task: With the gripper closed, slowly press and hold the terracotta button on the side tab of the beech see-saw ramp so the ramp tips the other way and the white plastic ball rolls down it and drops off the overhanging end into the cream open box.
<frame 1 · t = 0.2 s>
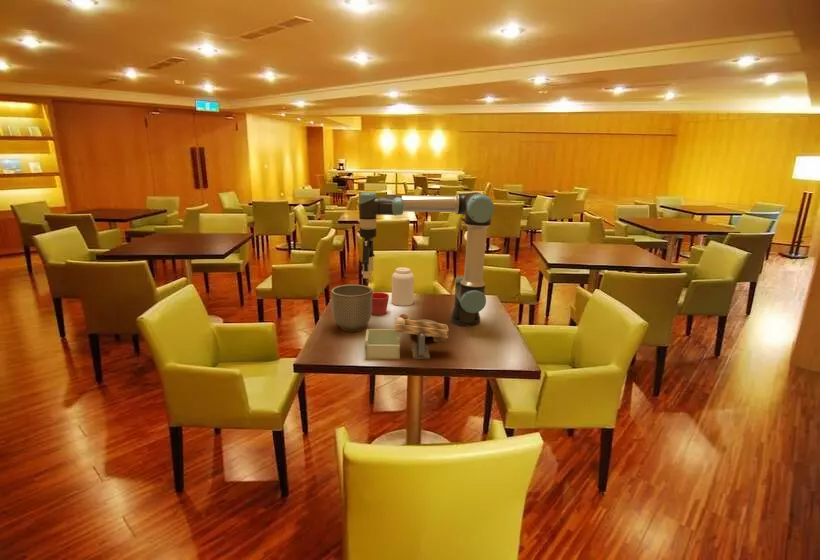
hand: (368, 274, 206), 28 cm above the table, fingers open, 13 cm apart
lever: (420, 325, 194), point 10 cm above the table, hinge at -7.1°, touching ball
white bottle: (402, 303, 255), on the table
planter: (352, 328, 217), on the table
stand: (420, 352, 191), on the table
ball: (400, 322, 187), point 14 cm above the table, tilted 110°, touching lever
flower pot: (378, 313, 238), on the table
dish: (424, 336, 209), on the table
cream open box: (382, 352, 190), on the table
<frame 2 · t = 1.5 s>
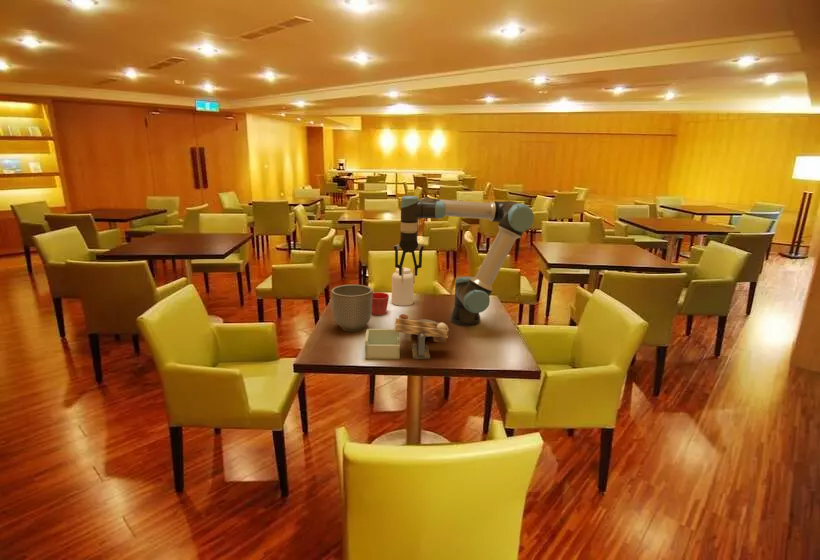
hand: (408, 282, 205), 25 cm above the table, fingers open, 4 cm apart
ball: (441, 327, 188), point 11 cm above the table, tilted 80°, touching lever
everything else where it was.
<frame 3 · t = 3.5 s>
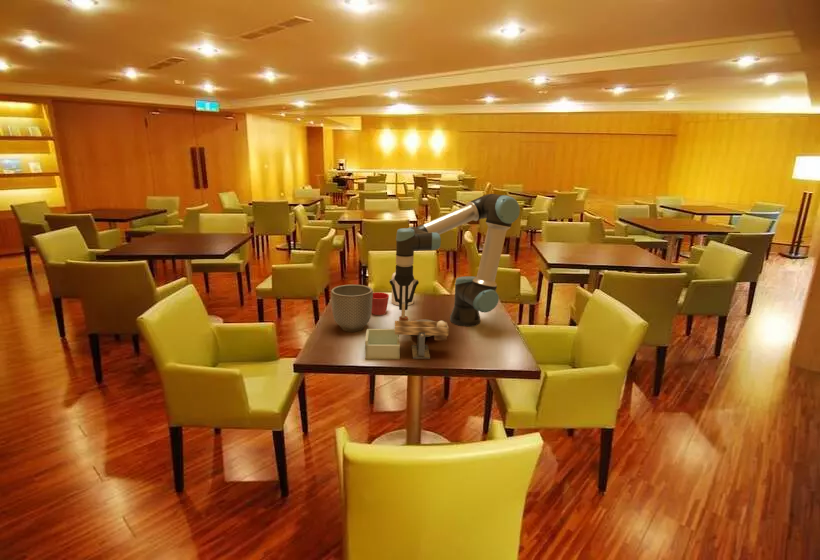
hand: (403, 316, 199), 12 cm above the table, fingers closed
lever: (420, 325, 194), point 10 cm above the table, hinge at -1.1°, touching ball, gripper
ball: (441, 325, 188), point 12 cm above the table, tilted 74°, touching lever
everything else where it was.
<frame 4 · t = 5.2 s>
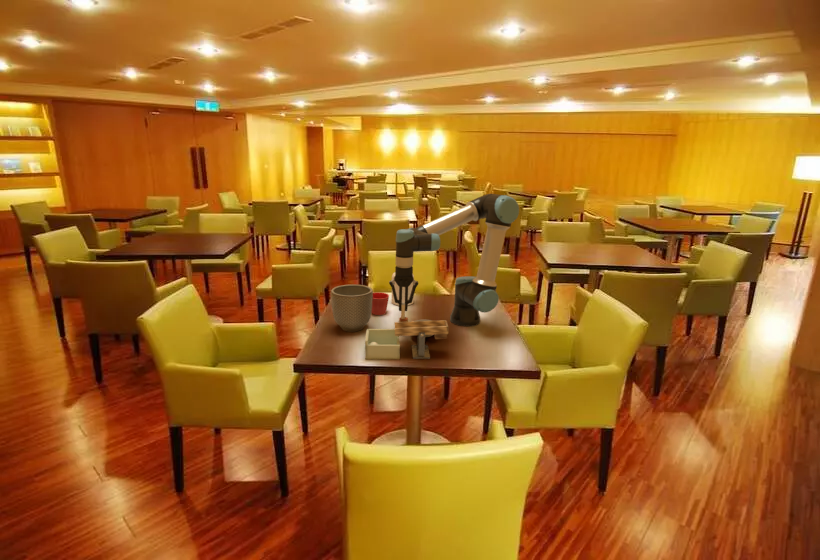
hand: (402, 317, 199), 11 cm above the table, fingers closed
lever: (420, 325, 194), point 10 cm above the table, hinge at 2.8°, touching gripper
ball: (373, 346, 189), point 3 cm above the table, tilted 36°, touching cream open box
everything else where it was.
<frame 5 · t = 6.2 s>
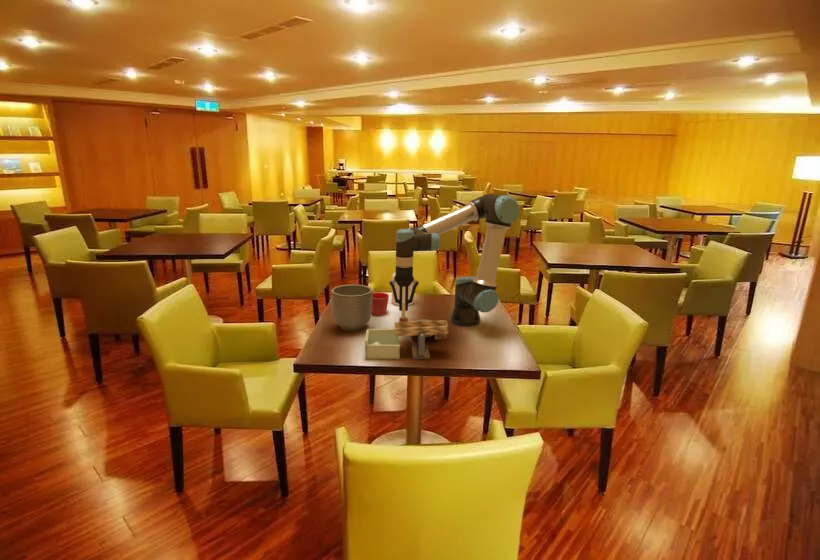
hand: (403, 317, 199), 11 cm above the table, fingers closed
lever: (420, 325, 194), point 10 cm above the table, hinge at 2.8°
ball: (376, 346, 190), point 3 cm above the table, tilted 5°, touching cream open box
everything else where it was.
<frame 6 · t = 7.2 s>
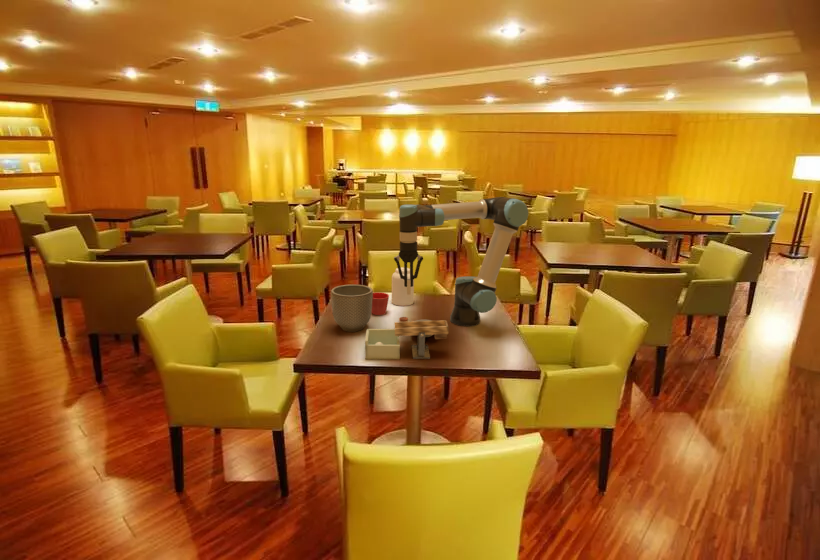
hand: (408, 293, 200), 21 cm above the table, fingers closed
ball: (379, 346, 190), point 3 cm above the table, tilted 26°, touching cream open box
everything else where it was.
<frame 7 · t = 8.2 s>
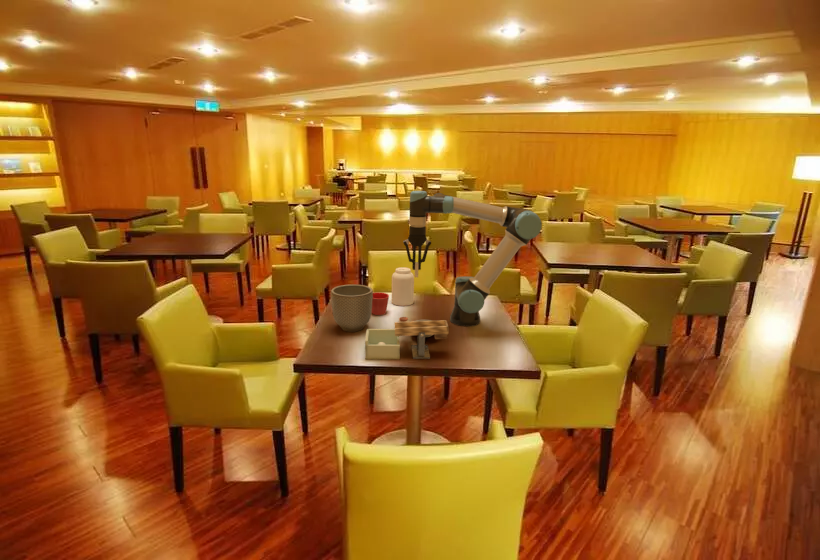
hand: (416, 276, 209), 26 cm above the table, fingers closed
ball: (381, 346, 190), point 3 cm above the table, tilted 57°, touching cream open box
everything else where it was.
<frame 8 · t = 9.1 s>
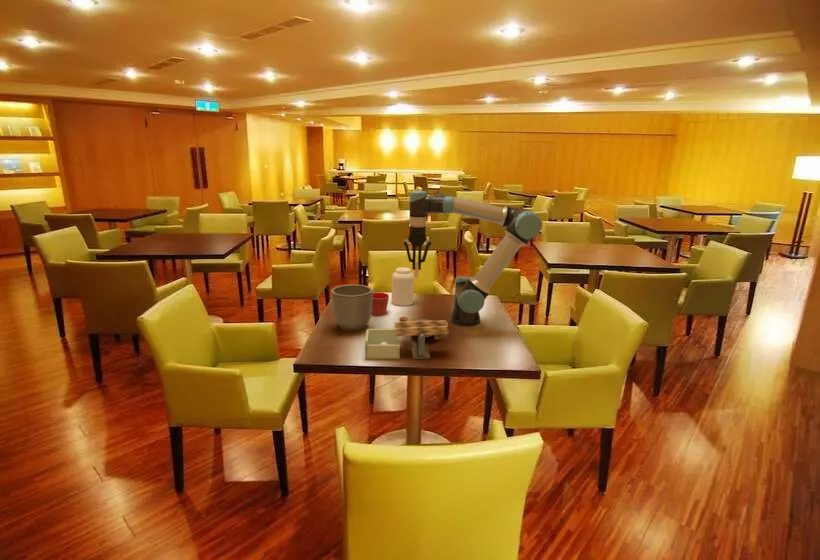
hand: (416, 276, 209), 26 cm above the table, fingers closed
ball: (383, 346, 190), point 3 cm above the table, tilted 85°, touching cream open box
everything else where it was.
at the end: ball inside the target area on the cream open box (0.5 cm from its centre), point 2.6 cm above the cream open box's base; ball touching cream open box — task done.
